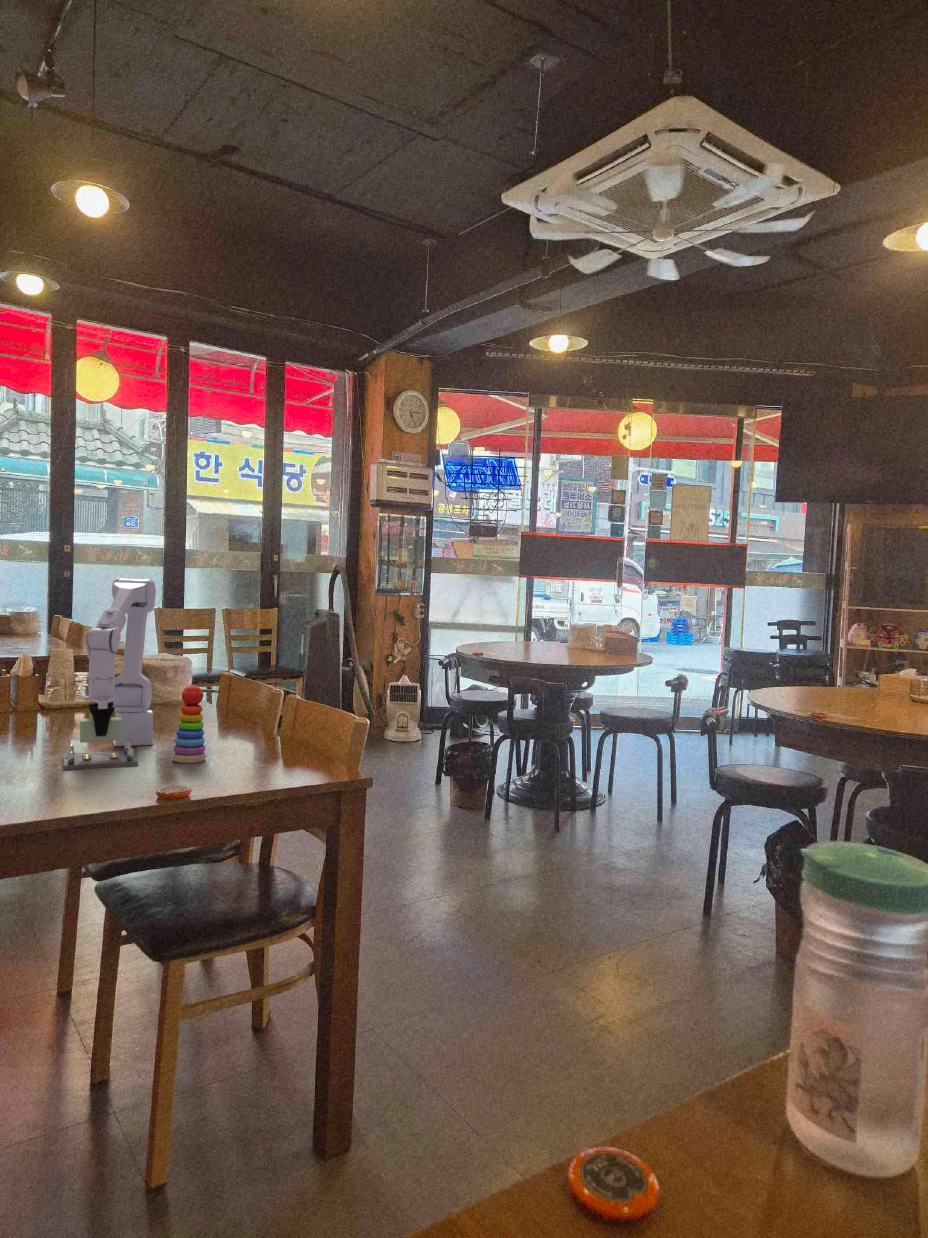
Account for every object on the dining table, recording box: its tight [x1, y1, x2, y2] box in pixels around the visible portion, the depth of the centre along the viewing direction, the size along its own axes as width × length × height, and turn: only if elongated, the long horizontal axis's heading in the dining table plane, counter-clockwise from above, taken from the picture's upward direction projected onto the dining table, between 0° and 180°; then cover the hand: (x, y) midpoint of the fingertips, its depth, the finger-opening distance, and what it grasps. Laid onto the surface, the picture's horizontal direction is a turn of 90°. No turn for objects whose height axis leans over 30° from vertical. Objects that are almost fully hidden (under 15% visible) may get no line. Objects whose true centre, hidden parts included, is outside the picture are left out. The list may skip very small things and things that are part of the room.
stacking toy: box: [171, 684, 207, 764], centre depth 204 cm, size 8×8×19 cm
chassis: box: [62, 742, 139, 771], centre depth 199 cm, size 16×13×4 cm
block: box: [79, 716, 122, 743], centre depth 199 cm, size 9×4×5 cm, turn 116°
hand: (100, 734), depth 199 cm, fingers closed on block, 4 cm apart
